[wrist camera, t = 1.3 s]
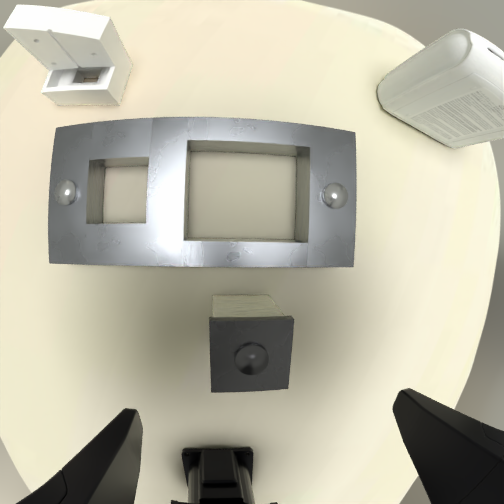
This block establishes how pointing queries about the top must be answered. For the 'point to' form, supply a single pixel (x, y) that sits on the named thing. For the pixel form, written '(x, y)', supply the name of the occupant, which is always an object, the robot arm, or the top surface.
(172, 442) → the top surface
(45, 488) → the robot arm
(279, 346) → the drawer with knob
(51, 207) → the metal cover plate
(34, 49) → the white angled block
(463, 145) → the photo printer
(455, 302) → the top surface
